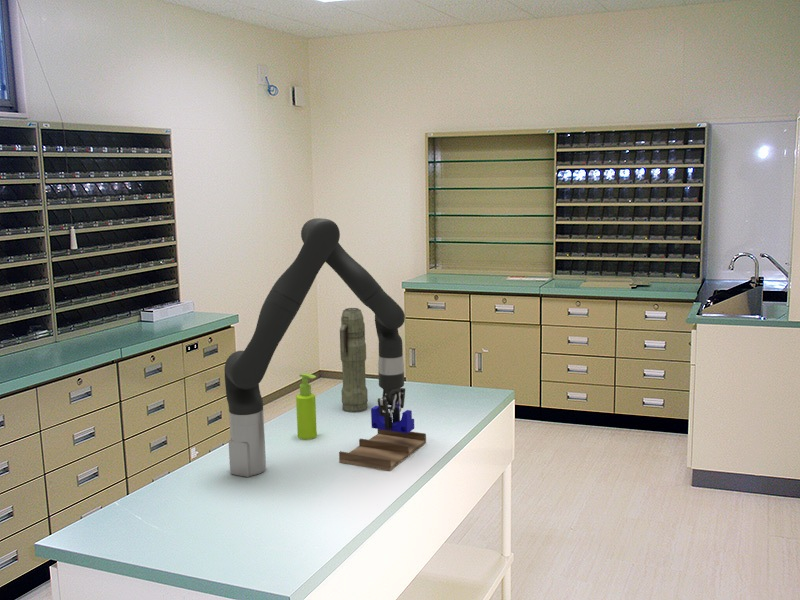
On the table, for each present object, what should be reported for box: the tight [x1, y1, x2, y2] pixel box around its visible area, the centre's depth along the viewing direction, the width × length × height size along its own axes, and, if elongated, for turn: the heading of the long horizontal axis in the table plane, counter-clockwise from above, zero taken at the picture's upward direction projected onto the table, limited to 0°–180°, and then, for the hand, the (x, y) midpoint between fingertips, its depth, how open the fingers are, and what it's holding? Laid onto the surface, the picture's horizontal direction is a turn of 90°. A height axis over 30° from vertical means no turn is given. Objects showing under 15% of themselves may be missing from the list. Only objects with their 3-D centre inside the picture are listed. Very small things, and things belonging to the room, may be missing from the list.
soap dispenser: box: [295, 372, 318, 441], centre depth 241 cm, size 6×7×20 cm
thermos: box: [339, 307, 369, 413], centre depth 268 cm, size 9×12×35 cm
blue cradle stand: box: [370, 405, 415, 433], centre depth 232 cm, size 12×4×6 cm, turn 62°
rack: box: [338, 429, 427, 472], centre depth 228 cm, size 24×16×3 cm, turn 154°
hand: (392, 426), depth 232 cm, fingers closed on blue cradle stand, 4 cm apart
